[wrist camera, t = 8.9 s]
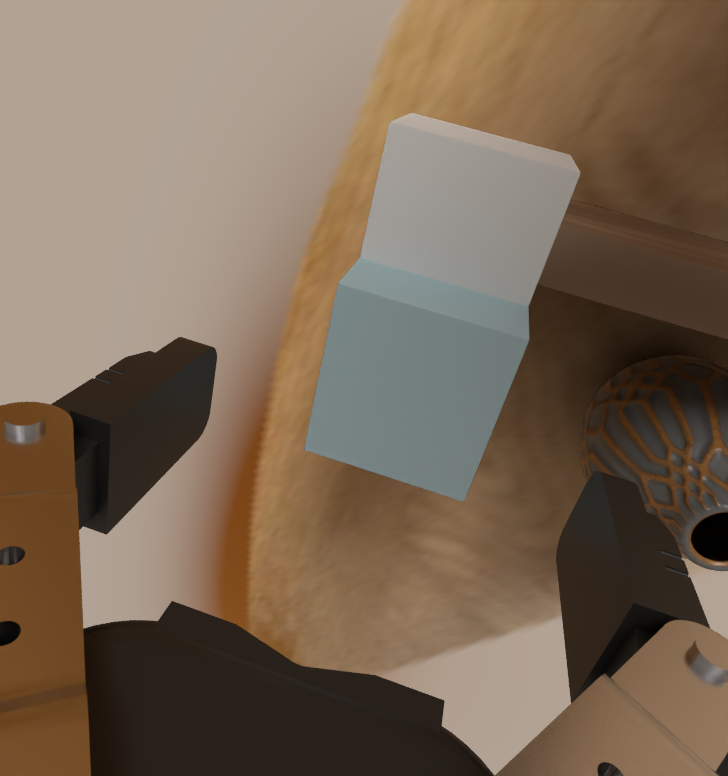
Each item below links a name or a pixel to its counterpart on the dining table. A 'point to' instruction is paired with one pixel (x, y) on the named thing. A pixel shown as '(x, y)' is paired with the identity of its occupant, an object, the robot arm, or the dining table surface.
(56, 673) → the robot arm
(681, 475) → the vase
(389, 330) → the cabinet
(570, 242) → the wall board
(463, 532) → the dining table surface
